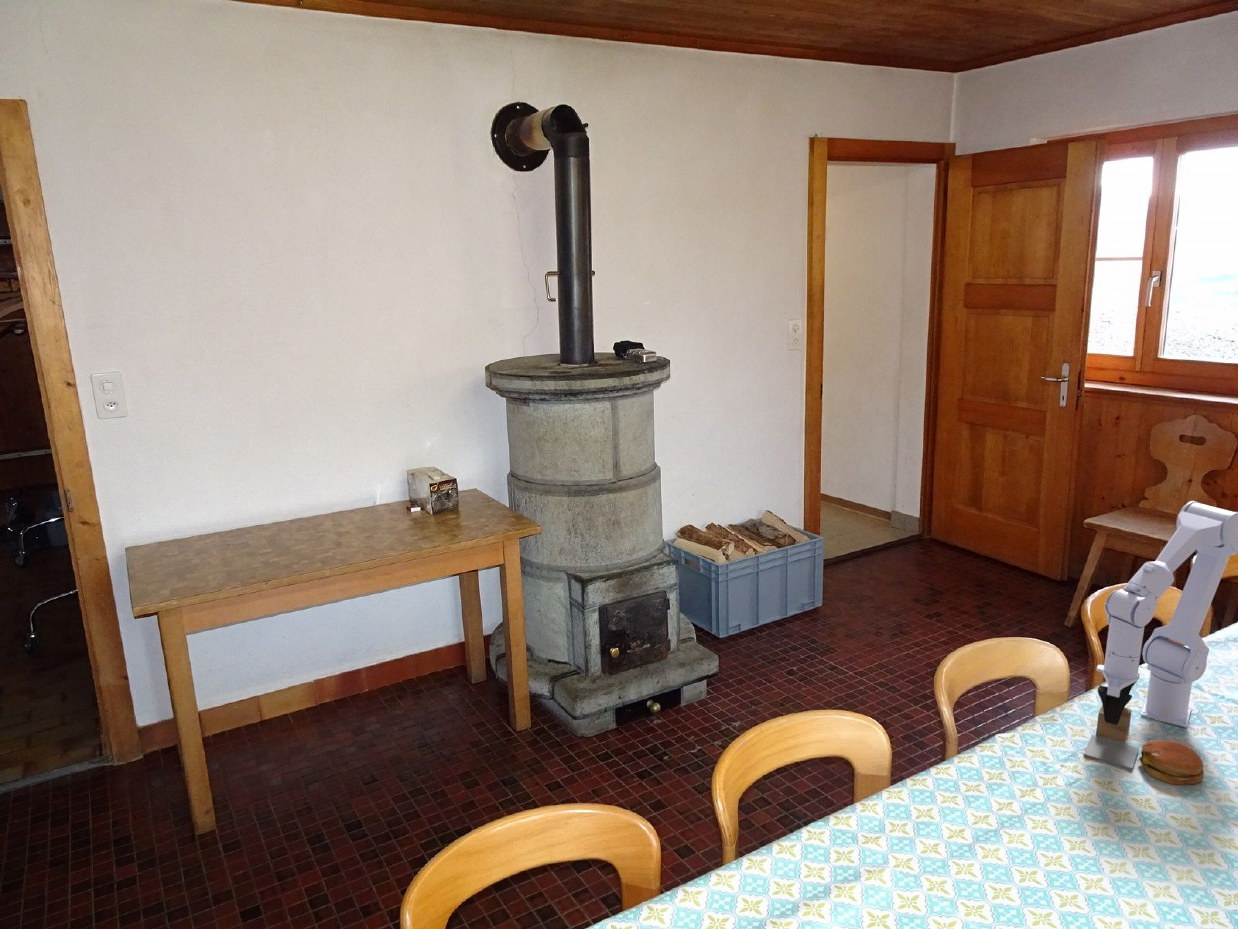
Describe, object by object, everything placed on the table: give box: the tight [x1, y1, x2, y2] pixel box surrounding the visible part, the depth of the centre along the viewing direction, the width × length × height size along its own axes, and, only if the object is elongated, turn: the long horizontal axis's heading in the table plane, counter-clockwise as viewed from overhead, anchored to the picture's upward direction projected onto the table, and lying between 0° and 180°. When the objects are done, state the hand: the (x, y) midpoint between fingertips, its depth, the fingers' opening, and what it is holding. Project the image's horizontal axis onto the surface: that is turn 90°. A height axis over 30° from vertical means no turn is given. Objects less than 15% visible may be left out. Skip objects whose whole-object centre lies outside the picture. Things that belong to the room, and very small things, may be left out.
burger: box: [1138, 739, 1205, 786], centre depth 159 cm, size 10×9×5 cm
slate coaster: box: [1083, 734, 1140, 772], centre depth 165 cm, size 8×8×1 cm
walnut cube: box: [1095, 704, 1133, 744], centre depth 171 cm, size 5×5×5 cm
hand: (1114, 714), depth 170 cm, fingers open, 7 cm apart
